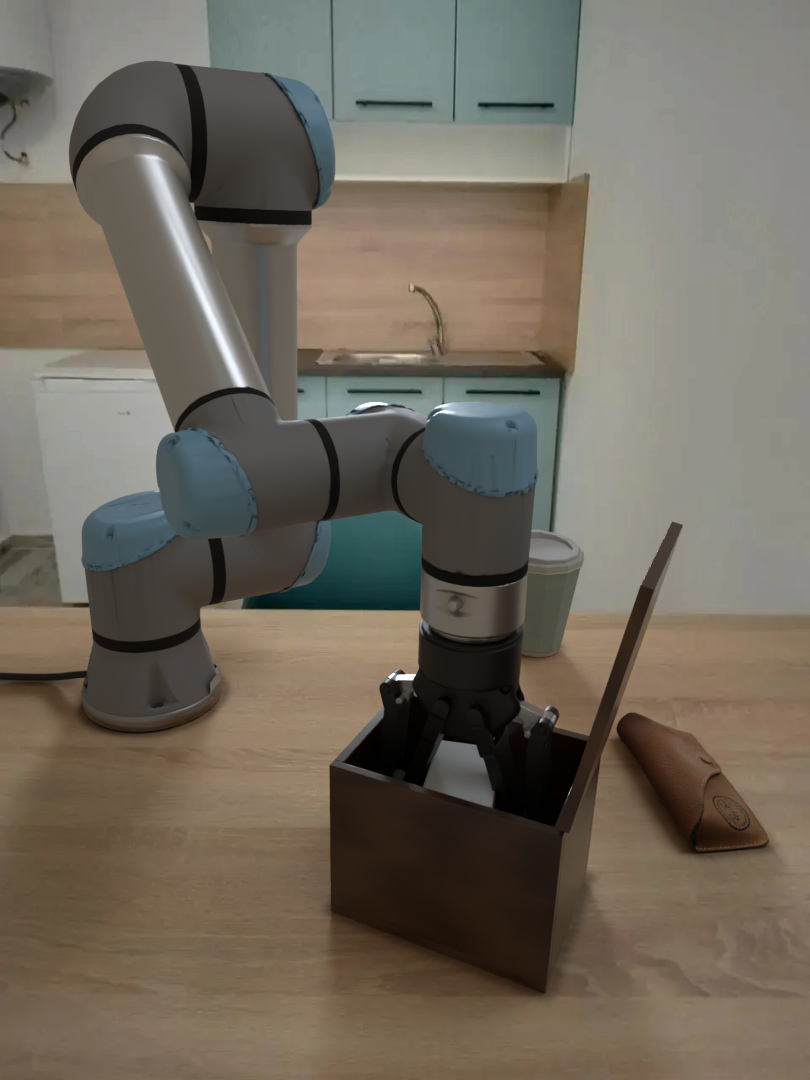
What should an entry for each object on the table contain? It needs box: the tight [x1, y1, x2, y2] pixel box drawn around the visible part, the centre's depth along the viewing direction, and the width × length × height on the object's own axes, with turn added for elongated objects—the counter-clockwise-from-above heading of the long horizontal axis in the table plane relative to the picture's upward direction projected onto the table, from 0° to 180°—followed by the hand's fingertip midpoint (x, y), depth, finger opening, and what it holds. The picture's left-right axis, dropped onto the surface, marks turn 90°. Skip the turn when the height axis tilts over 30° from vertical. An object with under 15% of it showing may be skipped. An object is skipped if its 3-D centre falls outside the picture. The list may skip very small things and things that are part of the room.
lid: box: [558, 521, 684, 834], centre depth 56 cm, size 18×13×1 cm
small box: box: [423, 740, 498, 810], centre depth 66 cm, size 8×6×10 cm
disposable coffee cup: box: [521, 529, 585, 658], centre depth 107 cm, size 11×11×15 cm
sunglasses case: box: [615, 711, 770, 853], centre depth 81 cm, size 18×7×7 cm
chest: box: [328, 692, 602, 994], centre depth 66 cm, size 18×13×14 cm
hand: (457, 876), depth 68 cm, fingers closed on small box, 6 cm apart
